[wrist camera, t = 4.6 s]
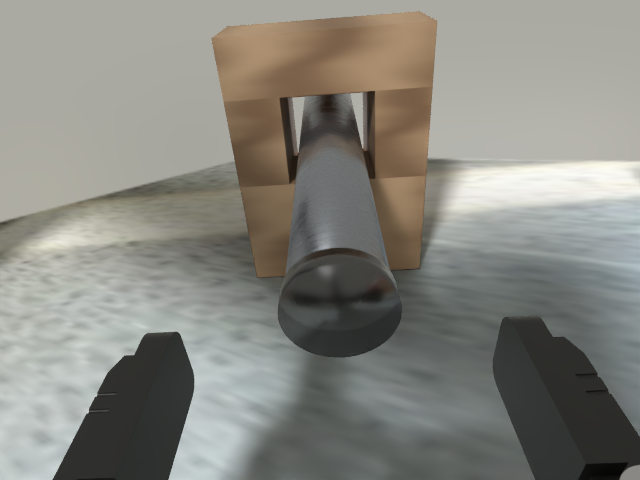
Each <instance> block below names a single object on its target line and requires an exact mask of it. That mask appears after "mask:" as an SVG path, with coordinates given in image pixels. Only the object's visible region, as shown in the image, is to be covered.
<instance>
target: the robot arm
mask: <svg viewBox="0 0 640 480" xmlns="http://www.w3.org/2000/svg"><path fill="white" fill-rule="evenodd" d="M493 372H494V378H495V381H496V385H497V387H498V390H499V392H500V394H501V397H502V399H503V402H504V404H505V407H506V409H507V412H508V414H509V416H510V419H511V421H512V424H513V426H514V429H515V431H516V434H517V436H518V438H519V441H520V443H521V446H522V448H523V451H524V453H525V456H526V458H527V460H528V463H529V465H530V468H531V470H532V473H533V475H534V478H535V480H640V437H639V435H638V434H637V432H636V431H635V429H634V428H633V426H632V425H631V423H630V422H629V420H628V419H627V417H626V416H625V414H624V413H623V411H622V410H621V408H620V407H619V405H618V404H617V402H616V401H615V399H614V398H613V396H612V395H611V394H609V392H608V389H607V387H606V385H605V384H604V382H603V381H602V379H601V378H600V377H598V376H597V372H596V370H595V369H594V367H593V366H592V364H591V363H590V361H589V360H588V358H587V357H586V355H585V354H584V353H583V352H582V351H581V350H579V349H578V348H577V347H576V346H575V345H573V344H572V343H571V342H570V341H568V340H567V339H566V338H565V337H552V335H551V333H550V332H549V330H548V329H547V327H546V325H545V324H544V322H543V321H542V319H541V318H540V317H538V316H520V317H505V318H504V319H503V320H502V323H501V327H500V331H499V336H498V340H497V345H496V349H495V353H494V358H493ZM193 392H194V373H193V369H192V367H191V364H190V361H189V358H188V355H187V352H186V349H185V347H184V344H183V341H182V338H181V336H180V334H179V333H178V332H163V333H147V334H145V335H144V337H143V338H142V340H141V342H140V344H139V346H138V349H137V351H136V353H135V355H130V356H124V357H123V358H122V359H121V360H120V361H119V362H118V363H117V364H116V365H115V366H114V367H113V368H112V369H111V370H110V371H109V372H108V373H107V375H106V377H105V379H104V381H103V383H102V385H101V387H100V389H99V391H98V393H97V394H98V395H97V397H95V398H94V400H93V402H92V404H91V406H90V408H89V413H88V414H86V416H85V418H84V420H83V422H82V424H81V426H80V428H79V430H78V432H77V434H76V435H75V437H74V439H73V441H72V443H71V445H70V447H69V449H68V451H67V453H66V455H65V457H64V459H63V461H62V463H61V465H60V467H59V469H58V471H57V472H56V474H55V476H54V478H53V480H168V479H169V475H170V472H171V468H172V465H173V462H174V458H175V455H176V451H177V448H178V445H179V441H180V438H181V434H182V431H183V428H184V424H185V421H186V417H187V414H188V410H189V407H190V404H191V400H192V397H193Z"/></svg>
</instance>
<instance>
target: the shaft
mask: <svg viewBox="0 0 640 480" xmlns="http://www.w3.org/2000/svg"><path fill="white" fill-rule="evenodd" d="M401 313H402V307H401V301H400V297H399V293H398V289H397V284H396V281H395V278H394V276H393V274H392V272H391V271H390V269H389V265H388V261H387V256H386V252H385V247H384V243H383V238H382V234H381V229H380V225H379V221H378V216H377V212H376V207H375V203H374V198H373V194H372V189H371V185H370V181H369V176H368V172H367V167H366V163H365V158H364V154H363V149H362V145H361V141H360V137H359V132H358V128H357V123H356V119H355V114H354V109H353V105H352V100H351V96H350V93H346V94H332V95H319V96H305V100H304V110H303V118H302V127H301V137H300V146H299V155H298V164H297V174H296V183H295V192H294V201H293V211H292V220H291V229H290V238H289V248H288V257H287V266H286V275H285V277H284V279H283V281H282V284H281V289H280V297H279V306H278V319H279V323H280V325H281V328H282V330H283V331H284V333H285V334H286V336H287V337H288V338H289V339H290V340H291V341H292V342H293V343H294V344H296V345H297V346H299V347H300V348H302V349H304V350H306V351H308V352H311V353H314V354H317V355H321V356H327V357H350V356H355V355H359V354H363V353H366V352H368V351H371V350H373V349H375V348H377V347H378V346H380V345H381V344H383V343H384V342H385V341H387V340H388V339H389V338H390V337H391V336H392V334H393V333H394V332H395V330H396V329H397V327H398V325H399V322H400V319H401Z"/></svg>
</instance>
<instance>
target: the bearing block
mask: <svg viewBox="0 0 640 480" xmlns="http://www.w3.org/2000/svg"><path fill="white" fill-rule="evenodd" d="M436 30H437V20H435V19H433V18H431V17H429V16H427V15H425V14H423V13H421V12H419V11H418V12H405V13H393V14H380V15H367V16H355V17H342V18H329V19H316V20H304V21H291V22H278V23H266V24H255V25H254V24H253V25H240V26H228V27H226V28H225V29H224V30H222V31H221V32H219V33H218V34H217V35H215V36H214V37H213V38H212V44H213V49H214V54H215V59H216V65H217V70H218V74H219V80H220V85H221V90H222V96H223V101H224V106H225V111H226V117H227V122H228V127H229V132H230V137H231V143H232V148H233V153H234V159H235V164H236V169H237V174H238V180H239V185H240V190H241V195H242V200H243V206H244V211H245V216H246V221H247V227H248V232H249V237H250V242H251V247H252V253H253V258H254V263H255V268H256V274H257V278H259V277H277V276H285V275H286V266H287V257H288V248H289V238H290V229H291V220H292V211H293V201H294V192H295V183H296V174H297V164H298V156H293V147H292V138H291V129H290V120H289V111H288V102H287V97H296V96H309V95H323V94H337V93H351V92H365V91H368V151H363V154H364V158H365V163H366V167H367V172H368V176H369V181H370V185H371V189H372V194H373V198H374V203H375V207H376V212H377V216H378V221H379V225H380V229H381V234H382V238H383V243H384V247H385V252H386V256H387V261H388V265H389V269H390V270H402V269H419V268H420V254H421V240H422V226H423V212H424V198H425V184H426V170H427V155H428V141H429V129H430V115H431V100H432V87H433V86H432V85H433V72H434V58H435V45H436Z"/></svg>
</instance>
